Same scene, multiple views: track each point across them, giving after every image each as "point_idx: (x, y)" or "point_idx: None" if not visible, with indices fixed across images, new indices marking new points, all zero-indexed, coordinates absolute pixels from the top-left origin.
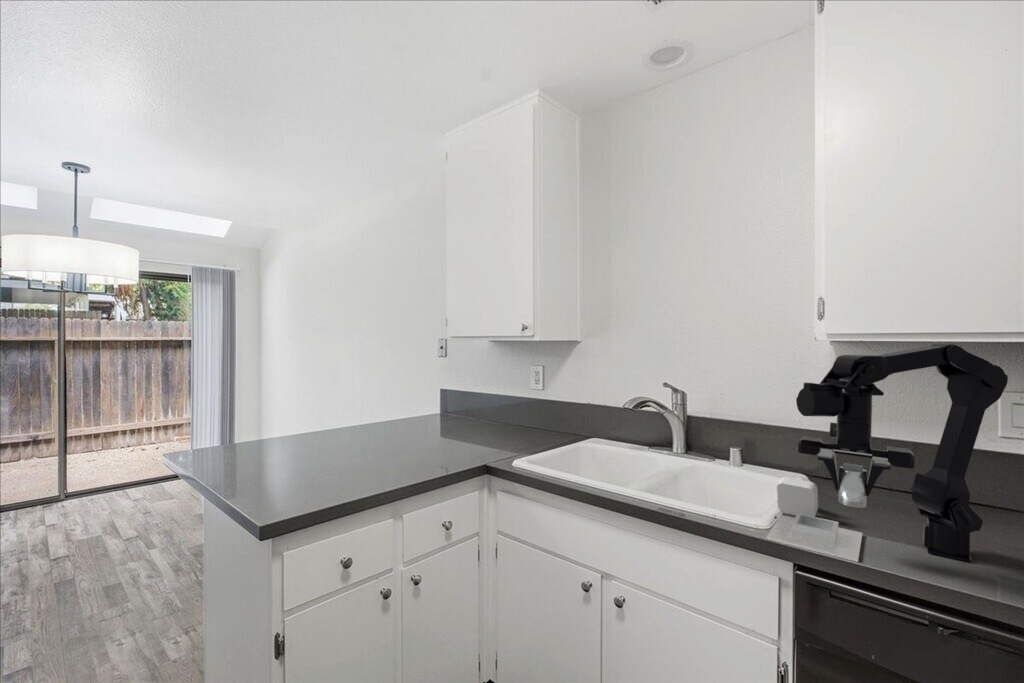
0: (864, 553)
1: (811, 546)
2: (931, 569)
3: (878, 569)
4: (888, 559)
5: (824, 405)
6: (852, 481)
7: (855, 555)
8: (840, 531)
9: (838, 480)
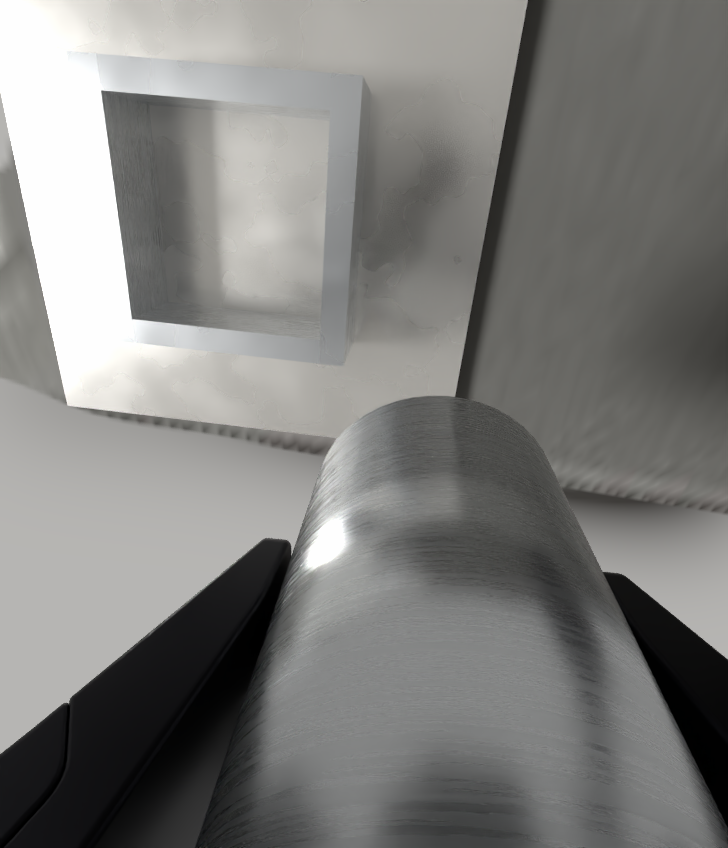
0: (489, 315)
1: (256, 417)
2: None
3: None
4: (593, 329)
5: None
6: None
7: None
8: (386, 20)
9: (247, 624)
